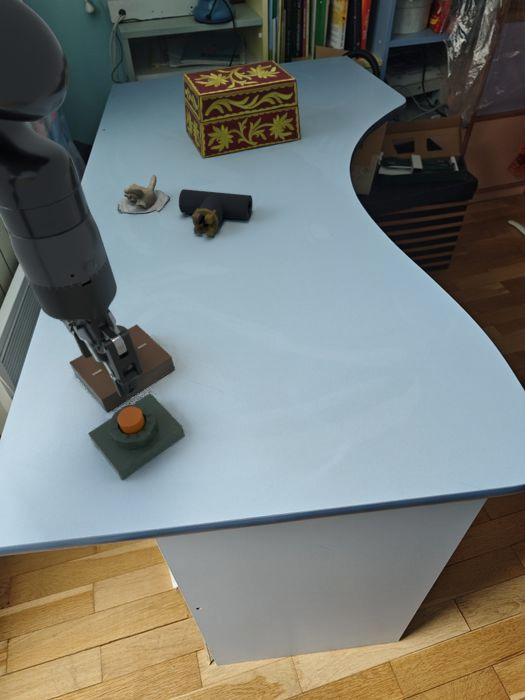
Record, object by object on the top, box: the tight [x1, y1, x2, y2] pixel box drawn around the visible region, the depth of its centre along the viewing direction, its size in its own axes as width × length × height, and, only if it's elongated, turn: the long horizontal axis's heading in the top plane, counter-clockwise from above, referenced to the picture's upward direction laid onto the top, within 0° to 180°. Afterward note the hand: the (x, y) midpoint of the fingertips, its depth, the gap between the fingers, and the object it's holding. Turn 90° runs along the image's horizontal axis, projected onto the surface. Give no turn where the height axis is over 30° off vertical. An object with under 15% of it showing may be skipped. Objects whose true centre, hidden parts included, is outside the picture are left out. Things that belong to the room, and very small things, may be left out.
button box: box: [87, 392, 186, 481], centre depth 66 cm, size 10×8×4 cm
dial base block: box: [69, 324, 176, 413], centre depth 74 cm, size 12×10×3 cm
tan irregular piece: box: [117, 174, 170, 214], centre depth 108 cm, size 10×12×6 cm
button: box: [118, 407, 145, 434], centre depth 64 cm, size 3×3×2 cm
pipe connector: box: [178, 188, 254, 237], centre depth 102 cm, size 12×5×15 cm
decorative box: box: [182, 60, 302, 159], centre depth 128 cm, size 28×19×15 cm
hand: (110, 372), depth 57 cm, fingers open, 8 cm apart
